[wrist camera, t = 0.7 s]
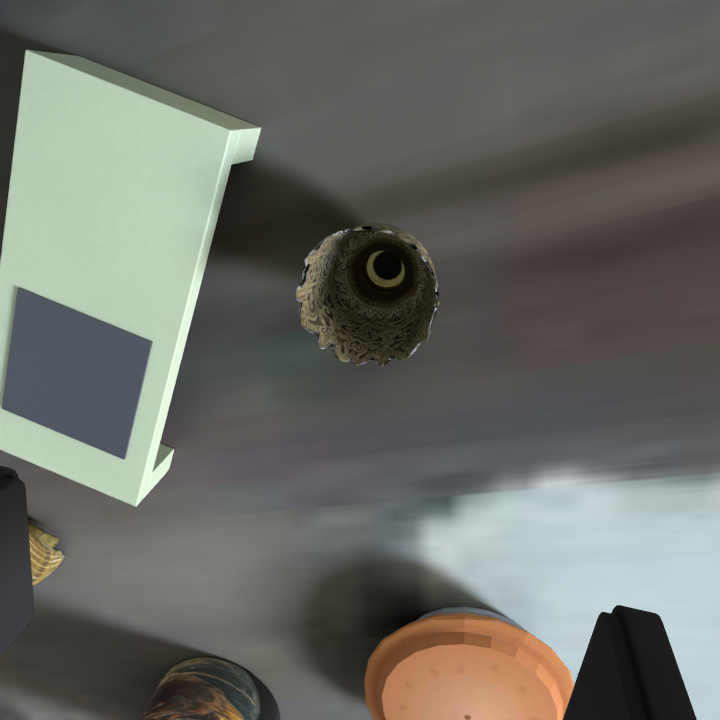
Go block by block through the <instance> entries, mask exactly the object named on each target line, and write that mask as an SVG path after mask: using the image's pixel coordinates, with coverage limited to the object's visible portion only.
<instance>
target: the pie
mask: <svg viewBox="0 0 720 720" xmlns="http://www.w3.org/2000/svg"><path fill="white" fill-rule="evenodd" d="M364 684H365V697H366V705H367V707H368V709H369V711H370V713H371V715H372V717H373V719H374V720H563V717H564V714H565V711H566V708H567V706H568V703H569V700H570V697H571V694H572V691H573V688H574V684H573V681H572V677H571V674H570V671H569V670H568V668H567V667H566V666H565V665H564V663H563V662H562V661H561V660H560V659H559V657H558V656H557V655H556V654H555V652H554V651H553V650H552V649H551V648H550V647H549V646H547V645H546V644H545V643H543V642H542V641H540V640H539V639H537V638H536V637H535V636H533V635H532V634H530V633H529V632H527V631H526V630H524V629H523V628H522V627H520V626H519V625H517V624H516V623H515V622H513V621H512V620H510V619H509V618H507V617H504V616H502V615H500V614H497V613H495V612H492V611H490V610H486V609H480V608H474V607H468V606H461V607H446V608H442V609H439V610H436V611H432V612H429V613H426V614H424V615H423V616H421V617H420V618H418V619H417V620H416V621H414V622H411V623H409V624H407V625H406V626H404V627H402V628H401V629H399V630H397V631H396V632H394V633H392V634H391V635H389V636H387V637H386V638H384V639H382V641H381V642H380V643H379V645H378V646H377V648H376V649H375V650H374V652H373V653H372V655H371V656H370V658H369V659H368V664H367V669H366V674H365V679H364Z"/></svg>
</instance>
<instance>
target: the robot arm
mask: <svg viewBox="0 0 720 720" xmlns="http://www.w3.org/2000/svg"><path fill="white" fill-rule="evenodd" d="M33 610H34V596H33V583H32V570H31V556H30V543H29V530H28V517H27V503H26V490H25V484H24V483H23V481H21V480H19V478H18V474H17V473H16V471H15V470H13V469H11V468H7V467H2V466H0V656H1V655H2V654H3V653H4V652H5V650H6V649H7V648H8V647H9V646H10V645H11V644H12V643H13V641H14V640H15V639H16V638H17V637H18V636H19V635H20V634H21V633H22V631H23V630H24V629H25V628H26V626H27V625H28V623H29V621H30V619H31V617H32V614H33ZM563 720H697V719H696V716H695V714H694V711H693V708H692V705H691V702H690V699H689V696H688V694H687V691H686V688H685V685H684V682H683V679H682V677H681V674H680V671H679V668H678V665H677V662H676V659H675V657H674V654H673V651H672V648H671V645H670V642H669V639H668V637H667V634H666V631H665V628H664V625H663V622H662V620H661V618H660V616H659V615H657V614H656V613H652V612H647V611H643V610H638V609H634V608H629V607H625V606H620V605H618V606H616V607H615V608H614V609H613V611H612V613H611V614H610V613H606V612H601V614H600V615H599V617H598V619H597V622H596V625H595V628H594V631H593V633H592V636H591V639H590V642H589V645H588V648H587V651H586V654H585V657H584V659H583V662H582V665H581V668H580V671H579V674H578V677H577V680H576V682H575V685H574V688H573V691H572V694H571V697H570V700H569V703H568V706H567V708H566V711H565V714H564V717H563Z"/></svg>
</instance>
